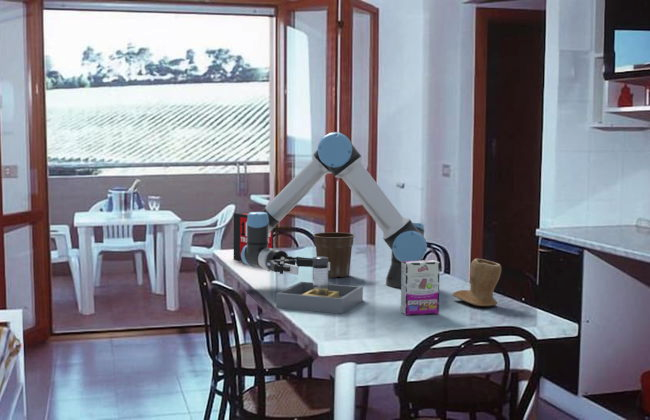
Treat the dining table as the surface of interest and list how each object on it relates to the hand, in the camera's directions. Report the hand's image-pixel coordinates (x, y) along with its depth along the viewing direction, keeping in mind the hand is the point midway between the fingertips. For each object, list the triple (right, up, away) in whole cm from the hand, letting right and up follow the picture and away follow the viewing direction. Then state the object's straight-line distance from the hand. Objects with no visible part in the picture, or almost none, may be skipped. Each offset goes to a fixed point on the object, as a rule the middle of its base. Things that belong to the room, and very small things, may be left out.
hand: (313, 268), depth 266 cm
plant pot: (+7, -7, +51) cm, 52 cm away
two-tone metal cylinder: (+2, -10, -1) cm, 11 cm away
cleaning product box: (-27, -3, +84) cm, 88 cm away
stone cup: (+54, -12, +3) cm, 56 cm away
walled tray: (+2, -11, -1) cm, 12 cm away
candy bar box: (+33, -13, -13) cm, 38 cm away
